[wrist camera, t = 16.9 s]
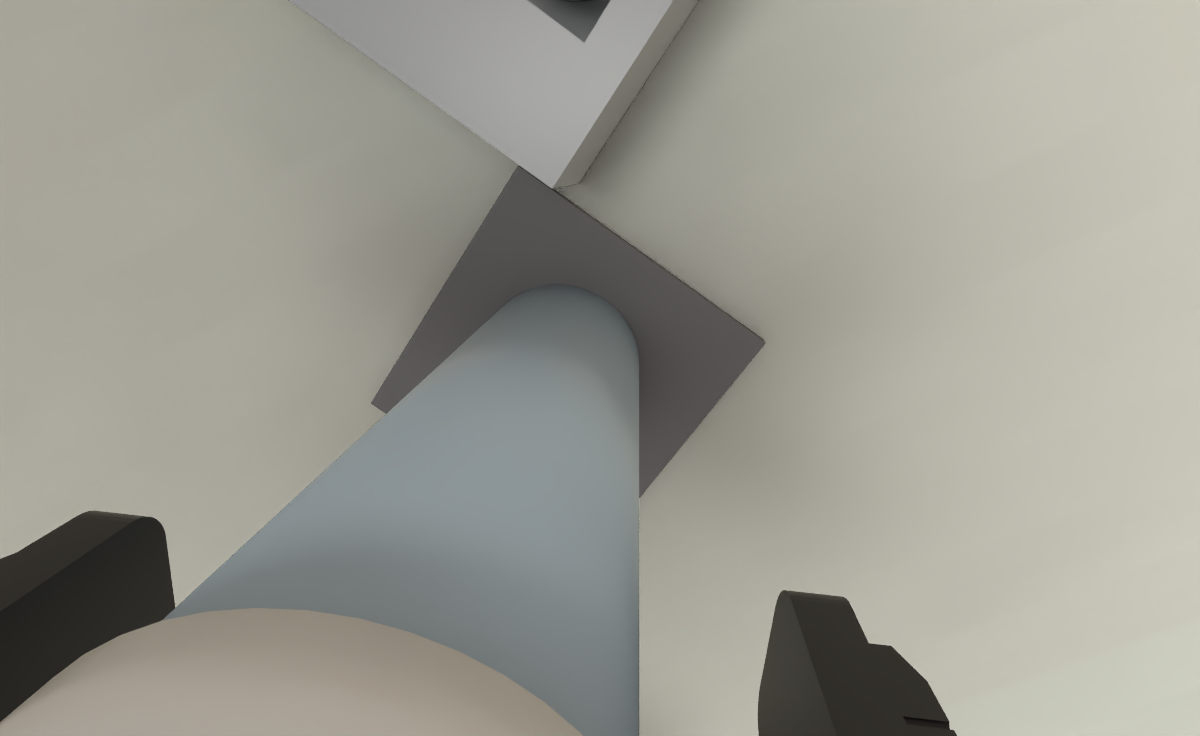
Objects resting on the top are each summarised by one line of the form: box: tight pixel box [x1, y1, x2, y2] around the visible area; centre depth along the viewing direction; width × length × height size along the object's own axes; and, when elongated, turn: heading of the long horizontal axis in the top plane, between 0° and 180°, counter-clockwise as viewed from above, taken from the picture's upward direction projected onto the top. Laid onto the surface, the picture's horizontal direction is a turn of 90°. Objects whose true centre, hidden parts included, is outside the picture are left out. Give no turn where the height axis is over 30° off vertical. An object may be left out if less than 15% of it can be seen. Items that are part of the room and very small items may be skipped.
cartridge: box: [0, 285, 639, 736], centre depth 11 cm, size 5×5×15 cm
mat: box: [371, 166, 765, 498], centre depth 18 cm, size 8×8×1 cm
